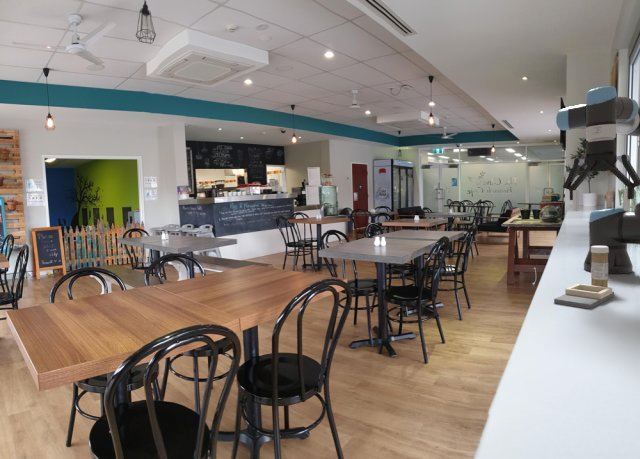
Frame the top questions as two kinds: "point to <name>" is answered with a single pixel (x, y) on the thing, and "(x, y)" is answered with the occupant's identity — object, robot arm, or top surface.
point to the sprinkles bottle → (599, 266)
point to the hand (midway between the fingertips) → (600, 210)
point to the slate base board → (584, 296)
